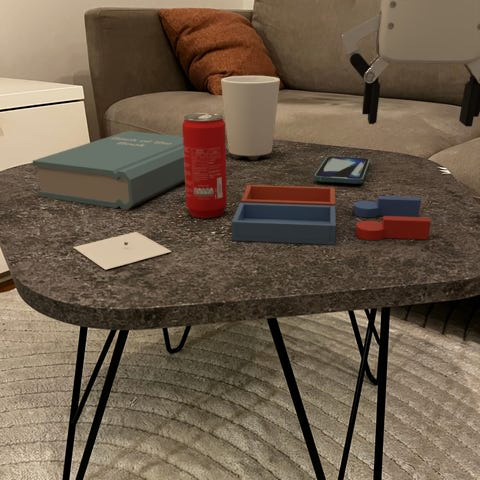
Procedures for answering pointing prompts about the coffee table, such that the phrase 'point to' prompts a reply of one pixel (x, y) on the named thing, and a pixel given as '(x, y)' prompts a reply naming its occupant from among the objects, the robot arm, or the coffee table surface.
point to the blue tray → (284, 223)
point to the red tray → (289, 195)
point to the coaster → (121, 250)
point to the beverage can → (205, 164)
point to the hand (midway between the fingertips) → (418, 123)
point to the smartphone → (342, 170)
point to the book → (114, 170)
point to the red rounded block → (394, 228)
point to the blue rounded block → (388, 207)
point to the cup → (250, 114)
